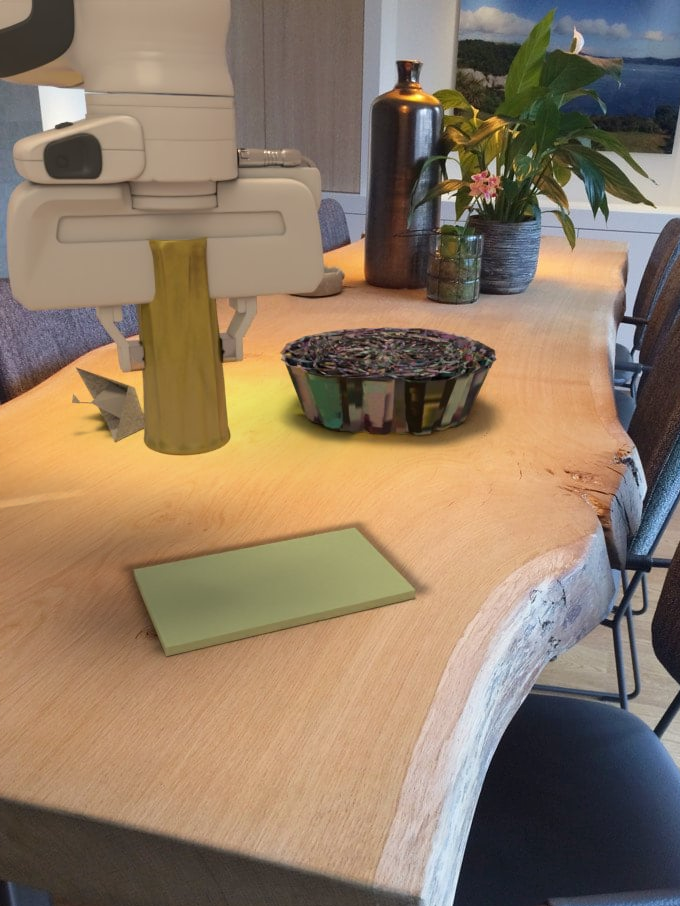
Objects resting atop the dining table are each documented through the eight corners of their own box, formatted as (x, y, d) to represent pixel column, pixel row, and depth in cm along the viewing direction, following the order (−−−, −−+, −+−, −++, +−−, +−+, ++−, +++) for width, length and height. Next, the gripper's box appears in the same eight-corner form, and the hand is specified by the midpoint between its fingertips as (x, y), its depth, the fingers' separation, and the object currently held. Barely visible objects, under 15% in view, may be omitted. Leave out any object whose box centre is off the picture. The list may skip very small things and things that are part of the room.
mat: (166, 656, 59) (165, 647, 58) (134, 577, 68) (133, 569, 68) (415, 598, 67) (416, 589, 66) (354, 534, 76) (355, 527, 76)
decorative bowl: (512, 457, 99) (527, 377, 95) (282, 449, 94) (287, 364, 90) (458, 392, 122) (468, 325, 118) (271, 383, 117) (274, 313, 113)
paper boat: (172, 422, 99) (104, 420, 92) (148, 458, 102) (81, 459, 95) (130, 352, 104) (63, 345, 96) (109, 388, 107) (42, 384, 100)
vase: (202, 462, 56) (187, 244, 50) (126, 449, 58) (102, 237, 52) (245, 433, 61) (236, 232, 55) (174, 422, 63) (157, 226, 57)
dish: (318, 301, 171) (318, 276, 168) (266, 292, 177) (265, 268, 175) (357, 290, 182) (358, 267, 180) (307, 282, 188) (307, 260, 186)
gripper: (304, 146, 58) (306, 341, 64) (-14, 144, 50) (22, 367, 56) (339, 151, 53) (338, 362, 59) (-9, 149, 45) (30, 394, 51)
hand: (181, 365), depth 57 cm, fingers closed on vase, 5 cm apart
